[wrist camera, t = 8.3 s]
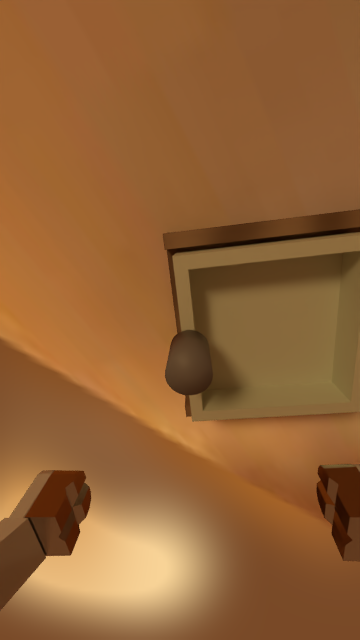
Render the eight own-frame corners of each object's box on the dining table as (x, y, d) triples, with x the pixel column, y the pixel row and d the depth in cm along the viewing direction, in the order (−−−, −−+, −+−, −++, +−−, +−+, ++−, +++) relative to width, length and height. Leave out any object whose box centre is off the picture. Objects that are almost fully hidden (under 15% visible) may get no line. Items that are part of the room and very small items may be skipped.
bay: (495, 193, 20) (580, 181, 15) (447, 383, 25) (499, 414, 21) (166, 233, 22) (159, 233, 17) (187, 400, 27) (185, 431, 23)
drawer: (350, 232, 20) (447, 231, 12) (336, 384, 24) (400, 451, 17) (164, 254, 21) (148, 264, 14) (182, 394, 26) (178, 461, 18)
